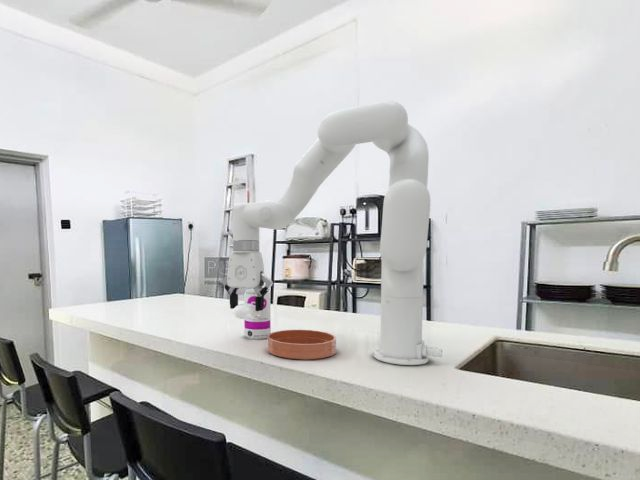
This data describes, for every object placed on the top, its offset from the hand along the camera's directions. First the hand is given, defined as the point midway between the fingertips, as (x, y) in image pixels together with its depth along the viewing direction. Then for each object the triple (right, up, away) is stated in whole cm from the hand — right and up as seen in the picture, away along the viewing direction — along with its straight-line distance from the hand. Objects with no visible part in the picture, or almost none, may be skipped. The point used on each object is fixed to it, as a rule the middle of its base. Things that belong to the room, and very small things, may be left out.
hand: (246, 308), depth 112 cm
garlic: (0, -3, 0) cm, 3 cm away
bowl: (+15, -11, -6) cm, 19 cm away
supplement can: (+4, -10, +11) cm, 16 cm away
